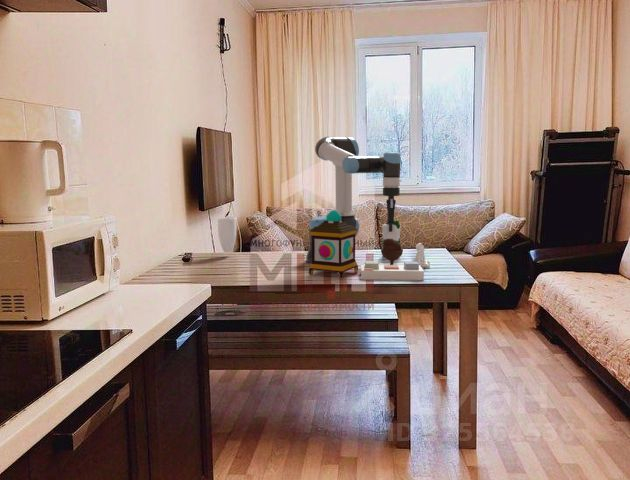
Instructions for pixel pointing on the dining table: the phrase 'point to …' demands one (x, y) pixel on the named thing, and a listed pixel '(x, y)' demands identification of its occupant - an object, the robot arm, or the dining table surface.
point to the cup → (227, 232)
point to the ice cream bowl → (391, 250)
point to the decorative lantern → (333, 245)
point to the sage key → (372, 264)
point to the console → (392, 273)
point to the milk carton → (395, 232)
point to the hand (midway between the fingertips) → (390, 238)
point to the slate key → (411, 265)
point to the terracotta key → (391, 267)
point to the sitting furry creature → (421, 256)
